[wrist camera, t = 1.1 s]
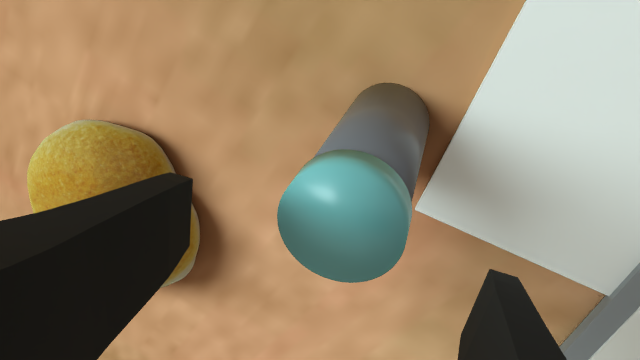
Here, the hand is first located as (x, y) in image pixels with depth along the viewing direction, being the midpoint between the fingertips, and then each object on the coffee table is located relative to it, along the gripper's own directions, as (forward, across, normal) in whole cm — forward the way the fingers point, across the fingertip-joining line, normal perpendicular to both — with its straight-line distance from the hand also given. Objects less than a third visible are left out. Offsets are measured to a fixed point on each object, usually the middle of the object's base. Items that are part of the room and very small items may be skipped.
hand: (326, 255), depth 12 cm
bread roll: (+10, +12, +8) cm, 17 cm away
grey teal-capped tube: (+9, 0, 0) cm, 9 cm away
